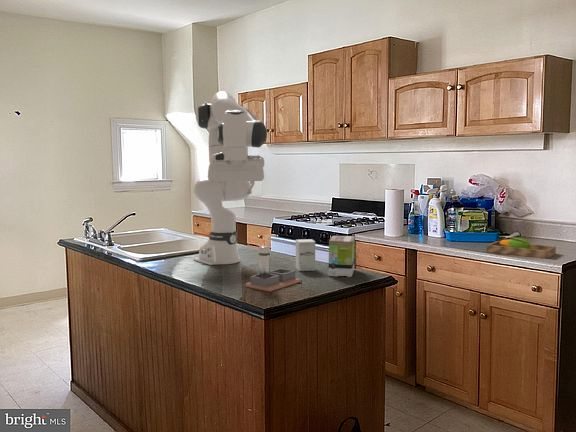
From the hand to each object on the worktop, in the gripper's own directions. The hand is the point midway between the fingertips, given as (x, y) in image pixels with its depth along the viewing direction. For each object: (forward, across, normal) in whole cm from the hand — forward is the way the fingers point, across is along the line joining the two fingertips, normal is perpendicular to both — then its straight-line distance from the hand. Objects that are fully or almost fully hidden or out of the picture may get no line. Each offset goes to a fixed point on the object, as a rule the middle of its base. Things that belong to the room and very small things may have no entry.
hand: (236, 194), depth 195 cm
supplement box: (+35, -32, -27) cm, 54 cm away
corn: (+35, -140, -41) cm, 150 cm away
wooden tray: (+35, -143, -39) cm, 152 cm away
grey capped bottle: (+34, -10, -1) cm, 35 cm away
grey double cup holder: (+35, -14, -4) cm, 38 cm away
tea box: (+35, -45, -17) cm, 59 cm away
